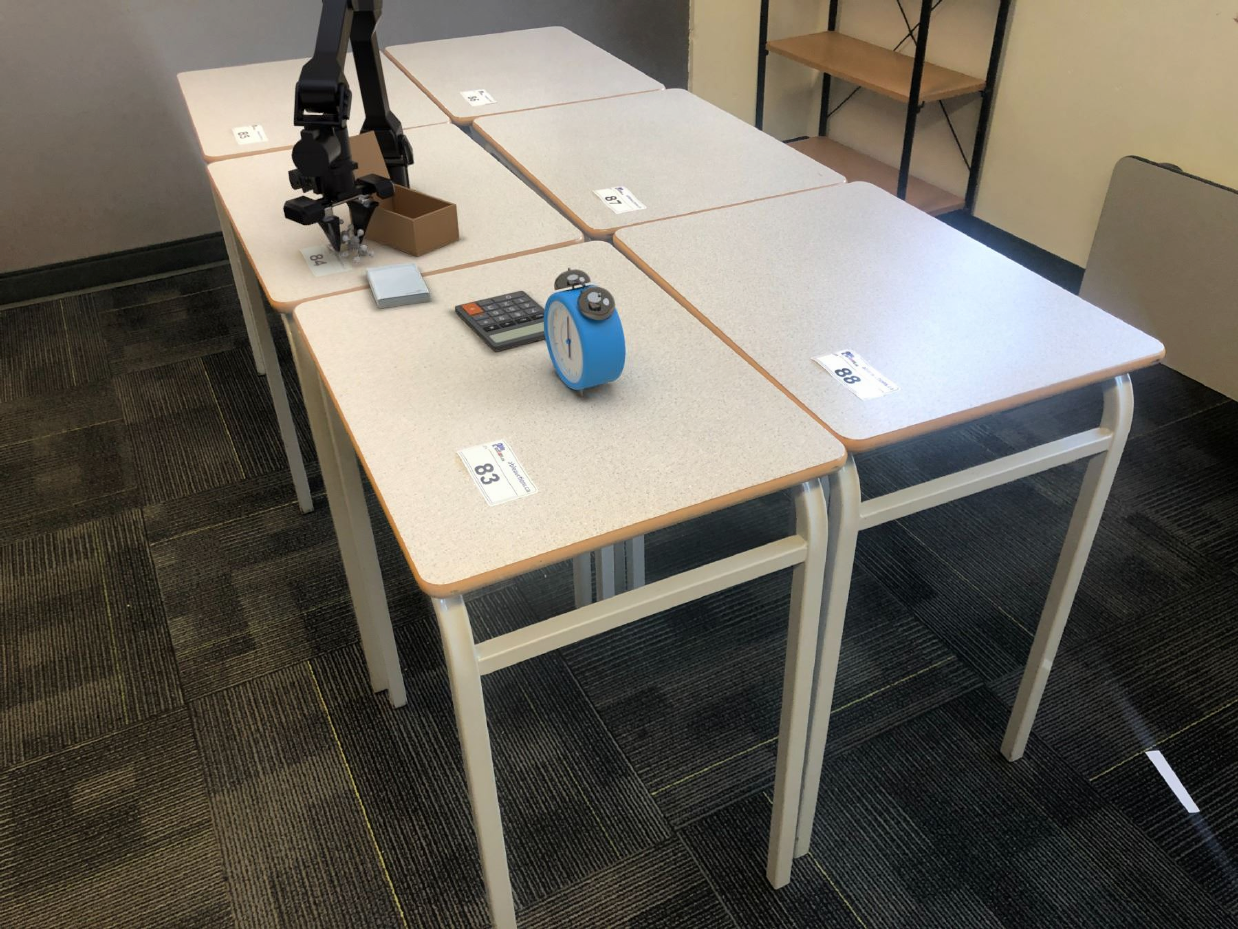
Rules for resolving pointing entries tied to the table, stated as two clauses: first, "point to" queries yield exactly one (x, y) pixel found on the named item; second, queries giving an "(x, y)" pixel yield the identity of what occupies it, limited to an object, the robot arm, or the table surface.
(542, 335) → the calculator
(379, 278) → the hard drive
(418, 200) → the carton
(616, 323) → the alarm clock
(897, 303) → the table surface
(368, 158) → the carton flap
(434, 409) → the table surface
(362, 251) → the molecular model
